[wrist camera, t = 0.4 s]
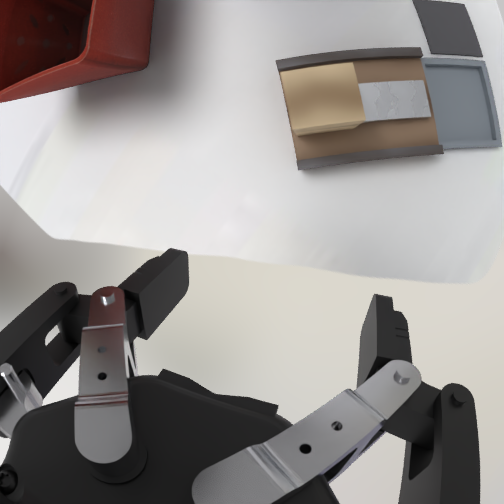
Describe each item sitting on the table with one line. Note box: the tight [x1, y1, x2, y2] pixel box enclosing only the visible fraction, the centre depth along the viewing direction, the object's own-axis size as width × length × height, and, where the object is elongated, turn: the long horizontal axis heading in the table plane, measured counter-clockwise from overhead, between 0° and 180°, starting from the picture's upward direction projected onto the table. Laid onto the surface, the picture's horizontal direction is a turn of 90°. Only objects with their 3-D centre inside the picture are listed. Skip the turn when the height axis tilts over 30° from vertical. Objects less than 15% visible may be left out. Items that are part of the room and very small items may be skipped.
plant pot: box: [0, 0, 155, 103], centre depth 26 cm, size 19×19×17 cm
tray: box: [420, 58, 502, 149], centre depth 28 cm, size 11×10×2 cm
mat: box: [413, 0, 483, 57], centre depth 25 cm, size 8×8×1 cm
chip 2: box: [389, 80, 431, 120], centre depth 27 cm, size 4×4×2 cm
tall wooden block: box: [280, 62, 366, 136], centre depth 26 cm, size 5×6×8 cm
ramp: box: [276, 47, 444, 170], centre depth 30 cm, size 12×16×4 cm
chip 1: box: [358, 81, 397, 123], centre depth 28 cm, size 4×4×2 cm
